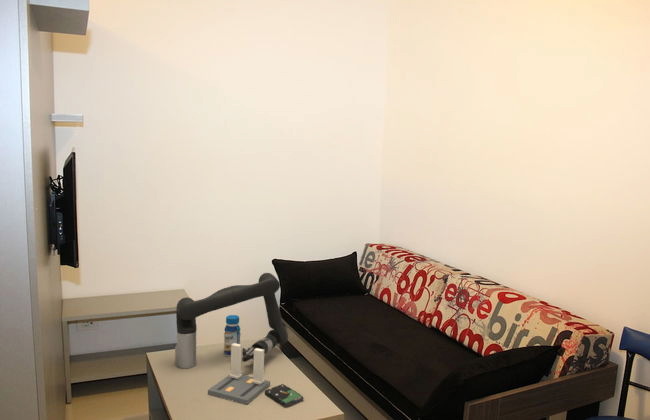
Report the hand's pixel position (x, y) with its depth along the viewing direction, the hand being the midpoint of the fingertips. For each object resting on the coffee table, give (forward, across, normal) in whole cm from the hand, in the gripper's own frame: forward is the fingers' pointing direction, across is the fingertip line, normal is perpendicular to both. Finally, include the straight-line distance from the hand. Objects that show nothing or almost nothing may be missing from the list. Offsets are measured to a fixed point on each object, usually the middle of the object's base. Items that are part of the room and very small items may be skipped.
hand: (243, 359), depth 249 cm
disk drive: (+10, +27, +9) cm, 30 cm away
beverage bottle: (-19, -19, +8) cm, 28 cm away
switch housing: (+13, +6, +8) cm, 16 cm away
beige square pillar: (+7, 0, +6) cm, 9 cm away
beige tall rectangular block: (+7, +12, +6) cm, 15 cm away
